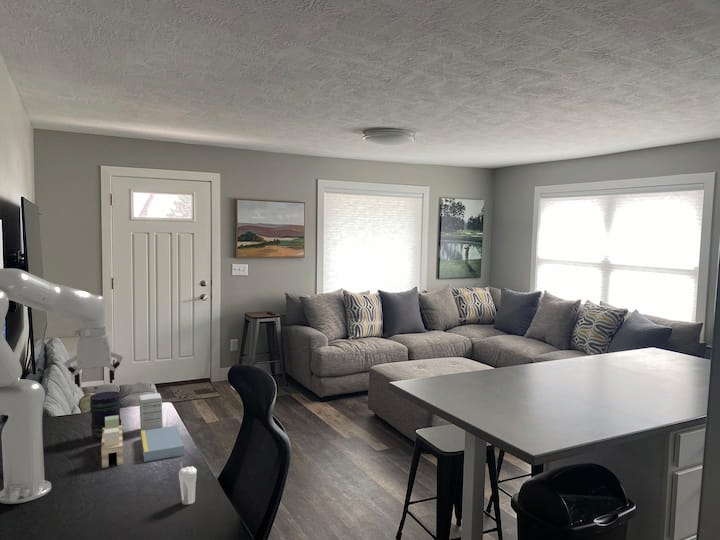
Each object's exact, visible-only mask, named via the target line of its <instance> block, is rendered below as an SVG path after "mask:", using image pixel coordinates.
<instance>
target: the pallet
mask: <svg viewBox="0 0 720 540" xmlns="http://www.w3.org/2000/svg"><path fill="white" fill-rule="evenodd" d="M104 429H105V428H103V430H102V441H101V468H102V469H103V468H109V464H110V463H109V459H110V454H113V453H114V454H115V453H116V464H117V465H116V466H122V465H124V443H123V425H122V424H121V425H119V445H114V446H107V447H105V446H104Z"/></svg>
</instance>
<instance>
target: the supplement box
mask: <svg viewBox="0 0 720 540" xmlns="http://www.w3.org/2000/svg"><path fill="white" fill-rule="evenodd" d="M138 399H139V400H138V401H139V419H140V422H139V423H140V424H139V425H140V431H142V430H151V429H158V428H164V425H163V424H164V423H163V404H162V403H163V401H162V399H163V397H162V396H161V393H160V392H156V393H148V394H141V395H139V397H138Z"/></svg>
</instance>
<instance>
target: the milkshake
mask: <svg viewBox="0 0 720 540" xmlns="http://www.w3.org/2000/svg"><path fill="white" fill-rule="evenodd" d="M179 465H180V467H181V468H180V470H179V471H178V479H179V480H178V481H179V486H180V487H179V488H180V495H181V503H182V504H183V505H184V506H185V505H188V506H189V505H192V504H194V503H195V502H196V482H197V474H198V473H197V472H198V471H197V468H196V467H195V466H193V465H192V466H186V467H184V466H183V462H182V461H180V462H179Z"/></svg>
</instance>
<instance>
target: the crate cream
mask: <svg viewBox="0 0 720 540" xmlns="http://www.w3.org/2000/svg"><path fill="white" fill-rule="evenodd" d="M114 445H119V427H118V428H111V429H104V446H105V447H107V446H114Z"/></svg>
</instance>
